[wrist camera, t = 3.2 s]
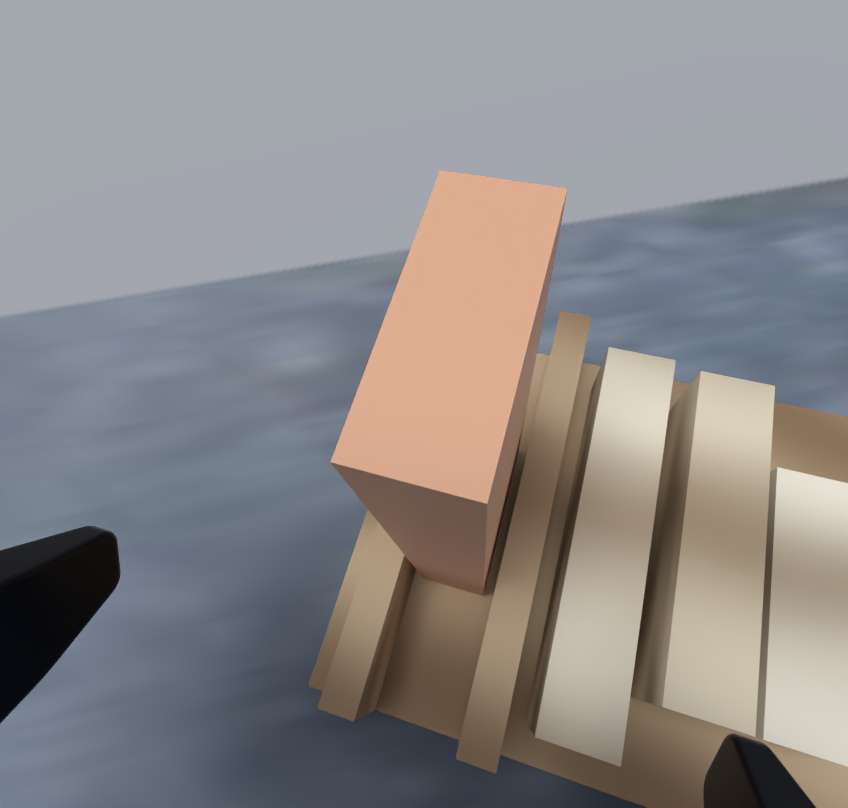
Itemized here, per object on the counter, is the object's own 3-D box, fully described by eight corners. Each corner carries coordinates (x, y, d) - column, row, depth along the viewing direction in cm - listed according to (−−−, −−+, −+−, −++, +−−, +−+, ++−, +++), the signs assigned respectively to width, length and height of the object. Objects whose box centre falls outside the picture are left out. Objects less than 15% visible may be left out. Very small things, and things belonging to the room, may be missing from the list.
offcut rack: (819, 860, 15) (964, 950, 11) (320, 683, 18) (267, 694, 14) (826, 433, 20) (928, 369, 15) (431, 349, 23) (418, 275, 18)
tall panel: (483, 596, 17) (487, 503, 6) (423, 578, 18) (331, 462, 7) (518, 451, 19) (567, 188, 8) (463, 437, 20) (440, 170, 9)
